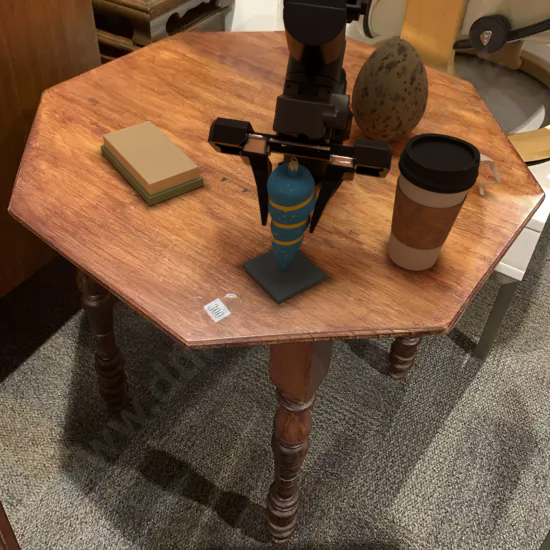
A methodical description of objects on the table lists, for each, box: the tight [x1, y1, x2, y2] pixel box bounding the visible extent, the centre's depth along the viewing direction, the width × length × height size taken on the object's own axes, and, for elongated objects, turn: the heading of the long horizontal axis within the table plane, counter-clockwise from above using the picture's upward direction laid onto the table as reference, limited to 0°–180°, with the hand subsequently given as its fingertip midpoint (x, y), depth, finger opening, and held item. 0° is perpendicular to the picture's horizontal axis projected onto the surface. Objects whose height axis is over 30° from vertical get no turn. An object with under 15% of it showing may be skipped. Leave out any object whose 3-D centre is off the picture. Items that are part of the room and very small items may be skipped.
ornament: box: [267, 157, 317, 271], centre depth 64 cm, size 5×5×15 cm
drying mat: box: [241, 248, 328, 304], centre depth 70 cm, size 7×7×1 cm
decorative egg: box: [350, 37, 429, 143], centre depth 86 cm, size 11×11×15 cm
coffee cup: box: [387, 132, 481, 272], centre depth 68 cm, size 8×8×15 cm
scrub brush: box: [100, 120, 205, 207], centre depth 82 cm, size 8×14×3 cm, turn 37°
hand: (287, 229), depth 64 cm, fingers closed on ornament, 5 cm apart
